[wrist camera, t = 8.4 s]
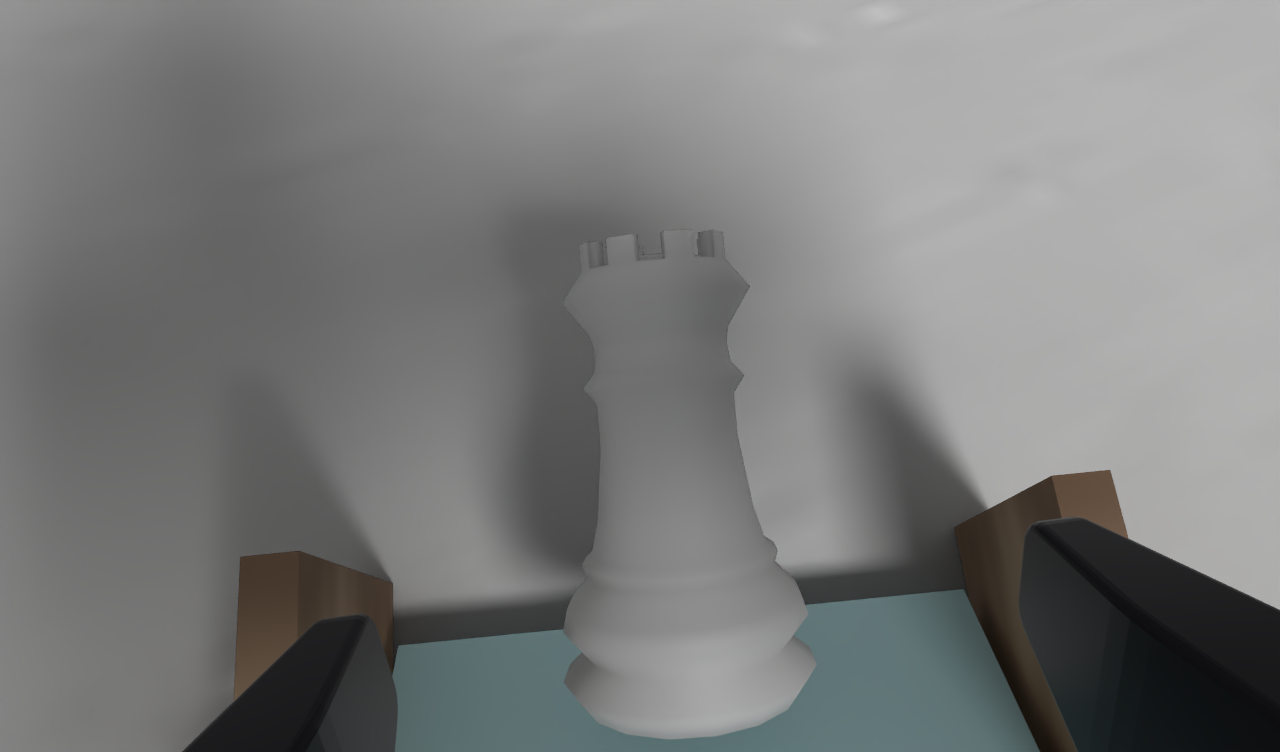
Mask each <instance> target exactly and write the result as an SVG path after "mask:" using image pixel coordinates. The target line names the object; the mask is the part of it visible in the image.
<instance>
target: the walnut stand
mask: <svg viewBox="0 0 1280 752" xmlns="http://www.w3.org/2000/svg"><path fill="white" fill-rule="evenodd" d="M1066 517H1082V518H1085V519H1087V520H1090V521H1092V522H1094V523H1096V524H1098V525H1100V526H1102V527H1105V528H1107V529H1109V530H1111V531H1113V532H1115V533H1117V534H1119V535H1122V536H1124V537H1126V538H1128V535H1127V531H1126V528H1125V524H1124V520H1123V516H1122V513H1121V509H1120V505H1119V501H1118V498H1117V494H1116V490H1115V486H1114V483H1113V479H1112V475H1111V471H1110V470H1105V471H1095V472H1085V473H1075V474H1065V475H1055V476H1050V477H1048V478H1047V479H1045V480H1043V481H1041V482H1039V483H1037V484H1035V485H1033V486H1031V487H1030V488H1028V489H1026V490H1024V491H1022V492H1020V493H1018V494H1016V495H1015V496H1013V497H1011V498H1009V499H1007V500H1005V501H1003V502H1001V503H999V504H998V505H996V506H994V507H992V508H990V509H988V510H986V511H984V512H982V513H981V514H979V515H977V516H975V517H973V518H971V519H969V520H967V521H966V522H964V523H962V524H960V525H958V526H956V527H954V529H955V533H956V538H957V543H958V548H959V553H960V558H961V563H962V567H963V572H964V577H965V582H966V587H967V592H968V597H969V601H970V604H971V606H972V608H973V610H974V612H975V614H976V617H977V619H978V621H979V623H980V625H981V627H982V629H983V631H984V634H985V636H986V638H987V640H988V642H989V644H990V646H991V648H992V651H993V653H994V655H995V657H996V659H997V661H998V663H999V666H1000V668H1001V670H1002V672H1003V674H1004V676H1005V678H1006V680H1007V683H1008V685H1009V687H1010V689H1011V691H1012V693H1013V695H1014V698H1015V700H1016V702H1017V704H1018V706H1019V708H1020V710H1021V712H1022V715H1023V717H1024V719H1025V721H1026V723H1027V725H1028V727H1029V730H1030V732H1031V734H1032V736H1033V738H1034V740H1035V742H1036V744H1037V747H1038V749H1039V751H1040V752H1077V750H1076V747H1075V745H1074V743H1073V741H1072V738H1071V736H1070V734H1069V731H1068V729H1067V727H1066V725H1065V722H1064V720H1063V718H1062V715H1061V713H1060V711H1059V709H1058V706H1057V704H1056V702H1055V700H1054V697H1053V695H1052V693H1051V690H1050V688H1049V686H1048V684H1047V681H1046V679H1045V677H1044V674H1043V672H1042V670H1041V668H1040V665H1039V663H1038V661H1037V658H1036V656H1035V654H1034V652H1033V649H1032V647H1031V645H1030V642H1029V640H1028V638H1027V636H1026V633H1025V631H1024V628H1023V625H1022V622H1021V618H1020V613H1019V605H1018V598H1019V587H1020V576H1021V565H1022V555H1023V544H1024V537H1025V533H1026V531H1027V529H1028V527H1029V526H1030V525H1032V524H1033V523H1034V522H1037V521H1044V520H1052V519H1059V518H1066ZM353 614H366V615H368V616H369V617H371V618H372V620H373V621H374V623H375V624H376V627H377V629H378V633H379V636H380V639H381V642H382V645H383V648H384V652H385V655H386V658H387V661H388V664H389V668H390V671H391V674H392V675H393V583H390V582H387V581H384V580H381V579H378V578H375V577H373V576H370V575H367V574H364V573H361V572H358V571H355V570H352V569H350V568H347V567H344V566H341V565H338V564H335V563H332V562H330V561H327V560H324V559H321V558H318V557H315V556H312V555H309V554H307V553H304V552H301V551H294V552H284V553H274V554H263V555H253V556H243V557H240V575H239V597H238V619H237V641H236V663H235V685H234V701H235V700H236V699H237V698H238V697H239V696H240V695H241V694H242V693H243V692H244V691H245V690H246V689H247V688H248V687H249V686H250V685H251V684H252V683H253V682H254V681H255V680H256V679H257V678H258V677H259V676H260V675H261V674H263V673H264V672H265V671H266V670H267V669H268V668H269V667H270V666H271V665H272V664H273V663H274V662H275V661H276V660H277V659H278V658H279V657H280V656H281V655H282V654H283V653H284V652H285V651H286V650H287V649H288V648H289V647H290V646H291V645H292V644H293V643H294V642H295V641H296V640H298V639H299V638H300V637H301V636H302V635H303V634H304V633H305V632H306V631H307V630H308V629H309V628H310V627H311V626H312V625H313V624H315V623H316V622H317V621H319V620H322V619H325V618H331V617H339V616H346V615H353Z"/></svg>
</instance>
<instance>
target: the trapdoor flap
mask: <svg viewBox="0 0 1280 752" xmlns="http://www.w3.org/2000/svg"><path fill="white" fill-rule="evenodd" d="M805 606H806V608H807V611H808V616H807V617H806V618H805V620H804V621H803V623H802V624H801V625H800V627H799V628H798V629H797V631H796V632H795V634H794V636H795V637H797V638H798V639H799V640H801V641H802V642H804V643H805V644H806V645H808V646H809V647H810V648H811V651H812V653H813V656H814V658H815V661H816V663H817V665H816V667H815V669H814V670H813V672H812V673H811V675H810V677H809V678H808V680H807V682H806V683H805V685H804V686H803V688H802V690H801V691H800V693H799V694H798V696H797V697H796V699H795V700H794V702H793V703H792V704H791V706H790V707H789V709H788V710H787V711H785V712H783V713H781V714H779V715H777V716H775V717H774V718H772V719H770V720H768V721H766V722H764V723H762V724H761V725H759V726H755V727H751V728H747V729H743V730H739V731H735V732H731V733H728V734H724V735H720V736H714V737H699V738H685V739H670V740H669V739H660V738H652V737H643V736H635V735H627V734H624V733H622V732H619V731H617V730H614V729H612V728H609V727H607V726H604V725H602V724H599V723H597V722H596V721H595V719H594V718H593V717H592V716H591V715H590V714H589V713H588V711H587V710H586V709H585V708H584V707H583V706H582V705H581V704H580V702H579V701H578V700H577V699H576V698H575V696H574V695H573V694H572V693H571V691H570V690H569V689H568V688H567V686H566V685H565V684H564V680H565V677H566V674H567V671H568V668H569V665H570V664H571V663H572V662H573V661H574V660H575V659H576V658H577V657H578V656H579V655H580V654H581V653H582V652H581V651H580V650H579V649H578V648H577V647H576V646H575V645H574V644H573V643H572V642H571V641H570V639H569V638H568V637H567V636H566V635H565V634H564V633H563V629H559V630H549V631H539V632H529V633H519V634H509V635H499V636H489V637H479V638H469V639H459V640H449V641H439V642H429V643H419V644H409V645H399V646H398V650H397V655H396V660H395V665H394V670H393V675H392V677H393V680H394V683H395V687H396V693H397V700H398V721H397V733H396V745H395V752H1040V751H1039V749H1038V747H1037V744H1036V742H1035V740H1034V738H1033V736H1032V734H1031V732H1030V730H1029V727H1028V725H1027V723H1026V721H1025V719H1024V717H1023V715H1022V712H1021V710H1020V708H1019V706H1018V704H1017V702H1016V700H1015V698H1014V695H1013V693H1012V691H1011V689H1010V687H1009V685H1008V683H1007V680H1006V678H1005V676H1004V674H1003V672H1002V670H1001V668H1000V666H999V663H998V661H997V659H996V657H995V655H994V653H993V651H992V648H991V646H990V644H989V642H988V640H987V638H986V636H985V634H984V631H983V629H982V627H981V625H980V623H979V621H978V619H977V617H976V614H975V612H974V610H973V608H972V606H971V604H970V602H969V599H968V597H967V595H966V593H965V591H964V589H959V590H949V591H939V592H929V593H919V594H909V595H899V596H889V597H879V598H869V599H859V600H849V601H839V602H829V603H819V604H809V605H805Z"/></svg>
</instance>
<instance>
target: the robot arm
mask: <svg viewBox="0 0 1280 752" xmlns="http://www.w3.org/2000/svg"><path fill="white" fill-rule="evenodd" d="M1018 605H1019V613H1020V618H1021V622H1022V625H1023V628H1024V631H1025V633H1026V636H1027V638H1028V640H1029V642H1030V645H1031V647H1032V649H1033V652H1034V654H1035V656H1036V658H1037V661H1038V663H1039V665H1040V668H1041V670H1042V672H1043V674H1044V677H1045V679H1046V681H1047V684H1048V686H1049V688H1050V690H1051V693H1052V695H1053V697H1054V700H1055V702H1056V704H1057V706H1058V709H1059V711H1060V713H1061V715H1062V718H1063V720H1064V722H1065V725H1066V727H1067V729H1068V731H1069V734H1070V736H1071V738H1072V741H1073V743H1074V745H1075V747H1076V750H1077V752H1280V610H1279V609H1277V608H1275V607H1272V606H1270V605H1268V604H1266V603H1264V602H1262V601H1260V600H1258V599H1255V598H1253V597H1251V596H1249V595H1247V594H1245V593H1243V592H1241V591H1238V590H1236V589H1234V588H1232V587H1230V586H1228V585H1226V584H1224V583H1221V582H1219V581H1217V580H1215V579H1213V578H1211V577H1209V576H1207V575H1204V574H1202V573H1200V572H1198V571H1196V570H1194V569H1192V568H1190V567H1187V566H1185V565H1183V564H1181V563H1179V562H1177V561H1175V560H1173V559H1170V558H1168V557H1166V556H1164V555H1162V554H1160V553H1158V552H1156V551H1153V550H1151V549H1149V548H1147V547H1145V546H1143V545H1141V544H1139V543H1136V542H1134V541H1132V540H1130V539H1128V538H1126V537H1124V536H1122V535H1119V534H1117V533H1115V532H1113V531H1111V530H1109V529H1107V528H1105V527H1102V526H1100V525H1098V524H1096V523H1094V522H1092V521H1090V520H1087V519H1085V518H1082V517H1066V518H1059V519H1052V520H1044V521H1037V522H1034V523H1033V524H1032V525H1030V526H1029V527H1028V529H1027V531H1026V533H1025V537H1024V544H1023V555H1022V565H1021V576H1020V587H1019V598H1018ZM397 721H398V700H397V693H396V687H395V683H394V680H393V677H392V674H391V671H390V668H389V664H388V661H387V658H386V655H385V652H384V648H383V645H382V642H381V639H380V636H379V633H378V629H377V627H376V624H375V623H374V621H373V620H372V618H371V617H369V616H368V615H366V614H353V615H346V616H339V617H331V618H325V619H322V620H319V621H317V622H316V623H315V624H313V625H312V626H311V627H310V628H309V629H308V630H307V631H306V632H305V633H304V634H303V635H302V636H301V637H300V638H299V639H298V640H296V641H295V642H294V643H293V644H292V645H291V646H290V647H289V648H288V649H287V650H286V651H285V652H284V653H283V654H282V655H281V656H280V657H279V658H278V659H277V660H276V661H275V662H274V663H273V664H272V665H271V666H270V667H269V668H268V669H267V670H266V671H265V672H264V673H263V674H261V675H260V676H259V677H258V678H257V679H256V680H255V681H254V682H253V683H252V684H251V685H250V686H249V687H248V688H247V689H246V690H245V691H244V692H243V693H242V694H241V695H240V696H239V697H238V698H237V699H236V700H235V701H234V702H233V703H232V704H231V705H230V706H229V707H228V708H227V709H225V710H224V711H223V712H222V713H221V714H220V715H219V716H218V717H217V718H216V719H215V720H214V721H213V722H212V723H211V724H210V725H209V726H208V727H207V728H206V729H205V730H204V731H203V732H202V733H201V734H200V735H199V736H198V737H197V738H196V739H195V740H194V741H193V742H192V743H191V744H189V745H188V746H187V747H186V748H185V749H184V750H183V751H182V752H395V745H396V733H397Z"/></svg>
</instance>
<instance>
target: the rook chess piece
mask: <svg viewBox="0 0 1280 752" xmlns="http://www.w3.org/2000/svg"><path fill="white" fill-rule="evenodd" d="M606 244H607V248H605V247H603V245H602V242H586V243H584V244H582V245H580V246H579V252H580V262H581V274H580V276H579V277H578V279H577V280H576V282H575V284H574V285H573V287H572V289H571V290H570V292H569V294H568V295H567V297H566V298H565V300H564V302H563V303H562V304H563V305H564V307H565V308H566V309H567V310H568V312H569V313H570V314H571V315H572V316H573V318H574V319H575V320H576V321H577V322H578V324H579V325H580V326H581V327H582V328H583V330H584V331H585V332H586V333H587V335H588V336H589V337H590V338H591V341H592V345H593V350H594V354H595V365H594V374H593V375H592V377H591V379H590V380H589V382H588V383H587V385H586V386H585V388H584V389H583V390H584V391H585V392H586V393H587V394H588V395H589V396H590V398H591V399H592V400H593V401H594V402H595V403H596V404H597V413H598V424H599V435H600V445H601V451H600V476H599V500H598V521H597V527H596V533H595V538H594V544H593V550H592V552H590V553H589V554H588V555H587V556H586V558H585V560H584V562H583V565H582V567H583V570H584V572H585V574H586V576H587V578H586V579H585V580H584V582H583V583H582V584H581V586H580V587H579V588H578V590H577V591H576V592H575V594H574V595H573V596H572V599H571V601H570V603H569V606H568V608H567V612H566V618H565V623H564V629H563V633H564V634H565V635H566V636H567V637H568V638H569V639H570V641H571V642H572V643H573V644H574V645H575V646H576V647H577V648H578V649H579V650H580V651H581V652H582V653H581V654H580V655H579V656H578V657H577V658H576V659H575V660H574V661H573V662H572V663H571V664H570V665H569V668H568V671H567V674H566V677H565V680H564V684H565V685H566V686H567V688H568V689H569V690H570V691H571V693H572V694H573V695H574V696H575V698H576V699H577V700H578V701H579V702H580V704H581V705H582V706H583V707H584V708H585V709H586V710H587V711H588V713H589V714H590V715H591V716H592V717H593V718H594V719H595V721H596V722H597V723H599V724H602V725H604V726H607V727H609V728H612V729H614V730H617V731H619V732H622V733H624V734H627V735H635V736H643V737H652V738H660V739H669V740H670V739H685V738H699V737H714V736H720V735H724V734H728V733H731V732H735V731H739V730H743V729H747V728H751V727H755V726H759V725H761V724H762V723H764V722H766V721H768V720H770V719H772V718H774V717H775V716H777V715H779V714H781V713H783V712H785V711H787V710H788V709H789V707H790V706H791V704H792V703H793V702H794V700H795V699H796V697H797V696H798V694H799V693H800V691H801V690H802V688H803V686H804V685H805V683H806V682H807V680H808V678H809V677H810V675H811V673H812V672H813V670H814V669H815V667H816V665H817V663H816V661H815V658H814V656H813V653H812V651H811V648H810V647H809V646H808V645H806V644H805V643H804V642H802V641H801V640H799V639H798V638H797V637H795V636H794V634H795V632H796V631H797V629H798V628H799V627H800V625H801V624H802V623H803V621H804V620H805V618H806V617H807V616H808V611H807V608H806V606H805V603H804V600H803V598H802V595H801V592H800V590H799V588H798V585H797V583H796V581H795V579H794V578H793V577H792V576H791V575H790V574H789V573H787V572H786V571H785V570H784V569H783V568H782V567H781V566H780V565H779V564H778V563H777V562H776V561H775V559H776V555H777V548H776V546H775V544H774V542H773V541H772V540H770V539H769V538H767V537H765V536H764V535H763V532H762V529H761V527H760V524H759V521H758V518H757V516H756V513H755V510H754V507H753V503H752V498H751V494H750V489H749V485H748V480H747V476H746V471H745V467H744V463H743V458H742V454H741V449H740V445H739V440H738V436H737V424H736V413H735V401H734V391H735V390H736V388H737V386H738V385H739V383H740V381H741V380H742V378H743V377H744V375H743V374H742V372H741V371H740V370H739V369H738V368H737V367H736V366H735V365H734V364H733V363H732V362H731V360H730V356H729V351H728V347H727V328H728V325H729V323H730V321H731V319H732V317H733V316H734V314H735V312H736V310H737V309H738V307H739V305H740V303H741V301H742V300H743V298H744V296H745V294H746V292H747V291H748V289H749V287H750V286H749V285H748V284H747V283H746V281H745V280H744V279H743V278H742V277H741V276H740V275H739V274H738V273H737V271H736V270H735V269H734V268H733V267H732V266H731V265H730V264H729V262H728V261H727V260H726V259H725V252H724V240H723V232H721V231H716V230H709V231H703V232H698V239H697V244H698V255H694V249H693V238H692V229H689V230H669V231H663V232H661V244H662V254H651V255H643V247H638V236H637V235H635V234H628V235H621V236H614V237H607V238H606Z"/></svg>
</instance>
